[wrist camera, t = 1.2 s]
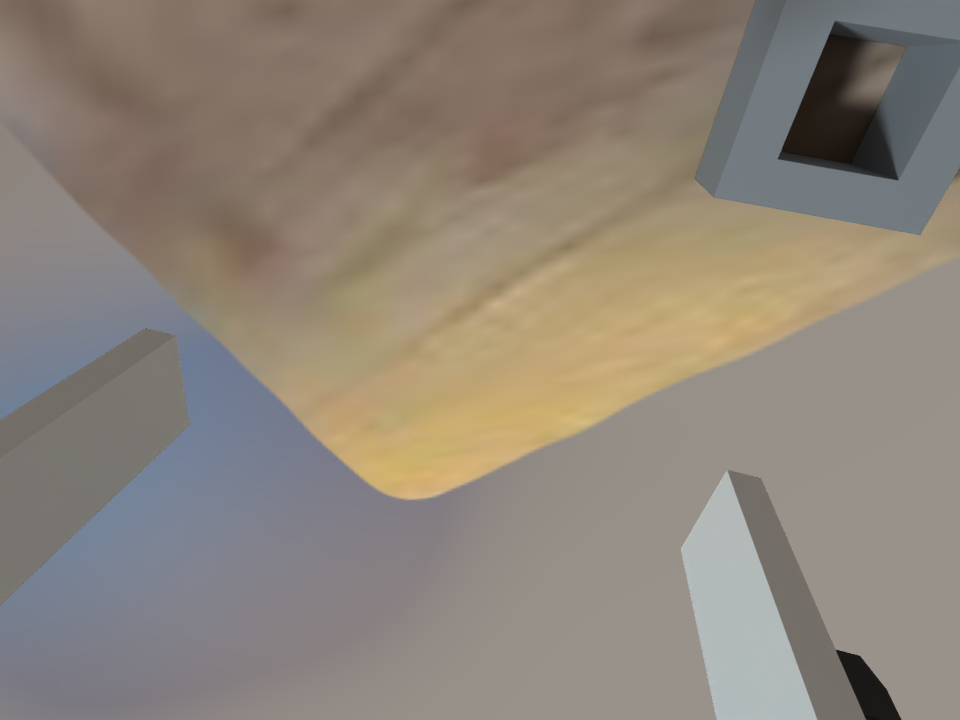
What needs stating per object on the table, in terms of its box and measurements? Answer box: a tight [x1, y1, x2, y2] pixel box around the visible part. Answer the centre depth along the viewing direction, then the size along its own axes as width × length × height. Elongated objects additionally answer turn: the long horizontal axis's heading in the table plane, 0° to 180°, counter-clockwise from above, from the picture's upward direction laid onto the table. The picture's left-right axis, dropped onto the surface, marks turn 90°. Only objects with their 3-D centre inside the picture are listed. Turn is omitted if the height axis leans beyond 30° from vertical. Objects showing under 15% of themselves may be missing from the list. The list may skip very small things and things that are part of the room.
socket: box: [695, 0, 960, 235], centre depth 25 cm, size 10×10×5 cm
